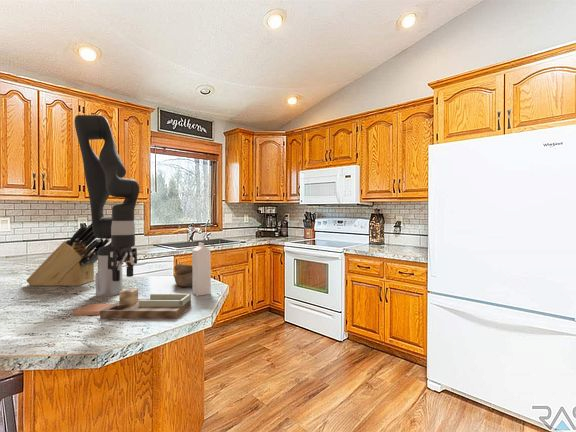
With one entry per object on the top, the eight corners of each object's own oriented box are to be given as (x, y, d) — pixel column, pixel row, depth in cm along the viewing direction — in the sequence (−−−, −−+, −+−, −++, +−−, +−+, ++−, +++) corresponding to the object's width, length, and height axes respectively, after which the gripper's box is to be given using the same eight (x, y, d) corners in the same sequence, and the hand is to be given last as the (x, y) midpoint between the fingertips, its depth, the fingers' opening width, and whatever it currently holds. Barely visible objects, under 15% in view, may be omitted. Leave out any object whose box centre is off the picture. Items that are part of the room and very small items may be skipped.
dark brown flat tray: (100, 318, 102) (99, 310, 102) (123, 305, 116) (123, 299, 116) (176, 318, 101) (176, 311, 101) (190, 305, 115) (190, 299, 115)
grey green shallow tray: (138, 306, 106) (138, 300, 106) (151, 299, 116) (151, 293, 116) (181, 306, 106) (181, 300, 106) (190, 299, 115) (190, 293, 115)
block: (119, 304, 108) (119, 292, 108) (125, 301, 113) (125, 289, 113) (132, 304, 109) (132, 291, 109) (138, 301, 113) (138, 288, 113)
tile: (73, 314, 106) (73, 311, 106) (90, 306, 115) (90, 303, 115) (99, 314, 105) (99, 311, 105) (114, 306, 114) (114, 303, 114)
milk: (197, 296, 129) (196, 243, 129) (192, 293, 134) (191, 242, 134) (211, 293, 133) (210, 242, 132) (205, 290, 138) (205, 241, 137)
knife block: (98, 286, 147) (97, 221, 147) (25, 286, 148) (24, 222, 147) (112, 281, 158) (111, 221, 158) (44, 281, 159) (43, 221, 159)
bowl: (160, 286, 146) (160, 265, 146) (184, 281, 158) (184, 261, 158) (187, 291, 137) (187, 268, 137) (210, 285, 149) (209, 264, 149)
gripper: (121, 234, 103) (121, 283, 103) (143, 232, 118) (143, 275, 117) (100, 234, 104) (100, 282, 104) (124, 232, 118) (124, 275, 118)
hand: (123, 278), depth 111 cm, fingers open, 8 cm apart
